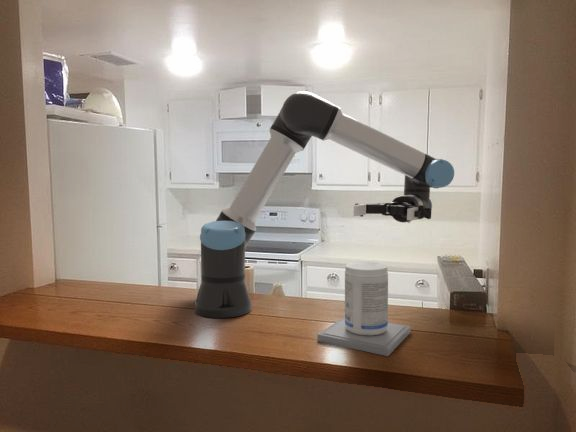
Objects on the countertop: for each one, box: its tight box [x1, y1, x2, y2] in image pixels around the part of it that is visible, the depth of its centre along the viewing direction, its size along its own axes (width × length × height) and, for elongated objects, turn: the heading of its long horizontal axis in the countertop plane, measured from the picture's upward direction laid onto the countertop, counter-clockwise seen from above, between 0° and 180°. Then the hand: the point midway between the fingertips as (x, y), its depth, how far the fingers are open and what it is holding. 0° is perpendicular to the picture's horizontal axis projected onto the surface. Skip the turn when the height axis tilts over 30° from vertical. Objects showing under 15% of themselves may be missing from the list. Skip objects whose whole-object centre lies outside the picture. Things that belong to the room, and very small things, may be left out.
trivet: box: [316, 316, 411, 357], centre depth 102 cm, size 16×16×2 cm
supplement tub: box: [344, 261, 389, 336], centre depth 101 cm, size 10×10×15 cm
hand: (381, 212), depth 110 cm, fingers open, 13 cm apart
